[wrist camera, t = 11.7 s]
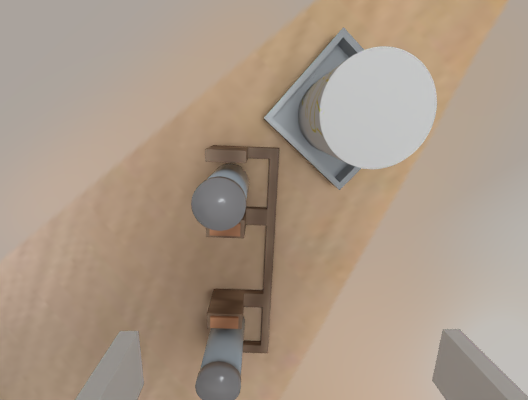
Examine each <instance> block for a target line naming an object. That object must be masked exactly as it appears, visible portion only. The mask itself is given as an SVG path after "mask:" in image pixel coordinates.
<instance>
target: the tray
mask: <svg viewBox="0 0 528 400" xmlns="http://www.w3.org/2000/svg"><path fill="white" fill-rule="evenodd" d="M363 50H364V49H363V48H362V47H361V46H360V45H359V44H358V43H357V42H356V40H355V39H354V38H353V37H352V36H351V35H350V34H349V33H348V32H347V30H346V29H345V28H344V27H343V28H342V30H341V31H340V32H339V33H338V34H337V35H336V36H335V38H334V39H333V40H332V41H331V42H330V43H329V44H328V46H327V47H326V48H325V49H324V50H323V51H322V52H321V54H320V55H319V56H318V57H317V58H316V59H315V60H314V61H313V63H312V64H311V65H310V66H309V67H308V68H307V69H306V71H305V72H304V73H303V74H302V75H301V76H300V77H299V79H298V80H297V81H296V82H295V83H294V84H293V85H292V87H291V88H290V89H289V90H288V91H287V92H286V93H285V94H284V96H283V97H282V98H281V99H280V100H279V101H278V102H277V104H276V105H275V106H274V107H273V108H272V109H271V110H270V112H269V113H268V114H267V115H266V116H265V117H264V119H265V120H266V121H267V122H268V123H269V124H270V125H271V126H272V127H273V128H274V129H275V130H276V131H277V132H278V133H279V134H281V135H282V136H283V137H284V138H285V139H286V140H287V141H288V142H289V143H290V144H291V145H292V146H293V147H294V148H295V149H296V150H297V151H298V152H299V153H301V154H302V155H303V156H304V157H305V158H306V159H307V160H308V161H309V162H310V163H311V164H312V165H313V166H314V167H315V168H316V169H317V170H318V171H319V172H320V173H322V174H323V175H324V176H325V177H326V178H327V179H328V180H329V181H330V182H331V183H332V184H333V185H334V186H336V187H337V188H338V189H339V190H340V189H341V188H342V187H343V186H344V185H345V184H346V183H347V182H348V181H349V180H350V179H351V178H352V177H353V176H354V175H355V174H356V173H357V172H358V171H359V170H360V169H361V168H359V167H355V166H353V165H350V164H348V163H346V162H344V161H342V160H340V159H337V158H335V157H333V156H331V155H329V154H327V153H325V152H323V151H320V150H318V149H316V148H315V147H313V146H312V145H310V144H309V143H308V142H307V141H306V139H305V138H304V136H303V135H302V133H301V130H300V127H299V123H298V110H299V105H300V102H301V100H302V98H303V96H304V94H305V93H306V91H307V90H308V89H309V88H310V87H311V86H312V85H313V84H314V83H315V82H317V81H318V80H320V79H321V78H322V77H324V76H325V75H326V74H328V73H329V72H331V71H332V70H333V69H335V68H336V67H337V66H339V65H340V64H342V63H343V62H344V61H346V60H347V59H348V58H350V57H351V56H353V55H355V54H357V53H359V52H361V51H363Z"/></svg>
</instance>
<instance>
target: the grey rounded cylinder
mask: <svg viewBox="0 0 528 400" xmlns="http://www.w3.org/2000/svg"><path fill="white" fill-rule="evenodd" d="M248 187H249V178H248V175H247V173H246V171H245V170H244V169H243V168H242V167H240V166H239V165H236V164H231V163H230V164H224V165H222V166H220V167H219V168H217V169H216V170H215V171H214V173H213V174H212V175H211V176H210V177H209V178H208V179H207V180H205V181H204V182H203V183H201V184H200V185H199V186H198V188H197V189H196V190H195V192H194V194H193V197H192V203H191V205H192V211H193V214H194V216H195V217H196V219H197V220H198V221H199V222H200V223H201V224H202V225H203V226H205V227H207V228H209V229H211V230H217V231H223V230H228V229H230V228H233V227H234V226H236V225H237V224H238V223H239V222H240V221H241V219H242V218H243V216H244V213H245V210H246V198H247V193H248Z"/></svg>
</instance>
